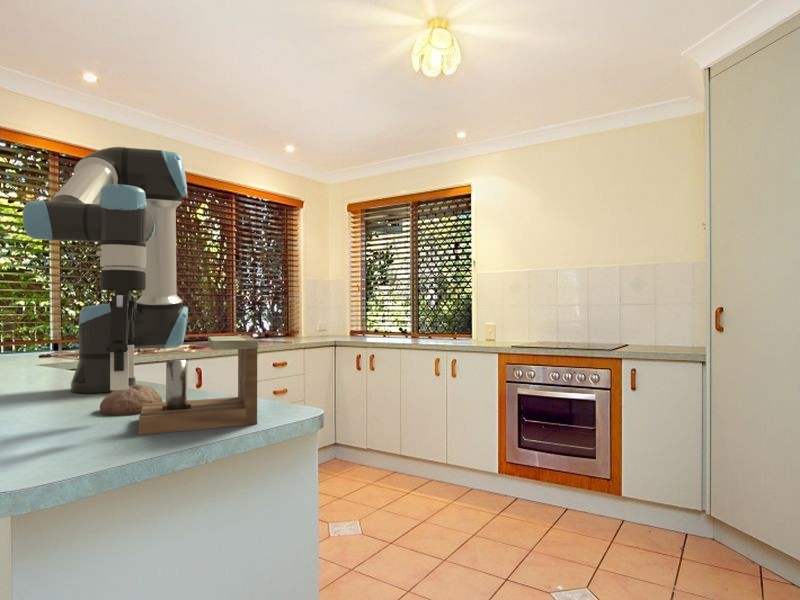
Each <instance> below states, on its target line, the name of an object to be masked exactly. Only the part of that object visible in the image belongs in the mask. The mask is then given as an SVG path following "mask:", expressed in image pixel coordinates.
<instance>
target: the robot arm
mask: <svg viewBox="0 0 800 600" xmlns="http://www.w3.org/2000/svg"><path fill="white" fill-rule="evenodd" d="M182 197H183V198H184V197H188V184H187V177H186V171H185V166H184V161H183V158H182V155H180V154H179V153H177V152H173V151H168V150H163V149H159V150H158V149H146V148H135V147H134V148H133V147H125V146H112V147H106V148H102V149H99V150H96V151H93V152H91V153H89V154H87V155H86V156H84V157H82V158H81V159H79V161H78V162H77V163H76V164H75V166H74V168H73V175H72V176H70V178H69V179H68V180H67V182H66V183H64V184H63V185H62V186H61V188H60V189H59V190H58V191H57V193H56V194H54V196H52V198H51V199H50V200H49V201H48V200H45V199H40V200H29V201H27V202H26V203H25V205H24V206H23V210H22V224H23V229H24V232H25V234H26V235H27V236H28V237H29V238H31V239H33V240H41V241H43V240H45V241H49V242H53V241H59V242H60V241H61V242H64V241H65V242H93V243H94V242H97V243H99V245H100V246H99V247H100V249H101V250H97V251H96V253H95V255H96V256H97V257H100V258H99V263H100V267H101V268H103V269H102V270H101V271H99V288H100V290H101V291H114V295H111V298H110V302H109V303H102V304H94V305H93V304H92V305H88V306H84V307H83V308H81V310H80V311H79V318H78V319H79V320H78V325H77V326H78V364H77V365H76V369H75V371H74V374H73V377H72V379H71V382H70V392H72V393H76V394H99V393H100V394H101V393H111V392H113V391H114V390H125V389H128V386H132V385H137V384H136V377H135V350H145V349H147V350H148V349H150V350H151V349H152V350H154V349H157V350H158V349H163V350H167V349H175V348H176V349H177V348H180V347H181V346H182V345H183V344H184V340H185V337H186V331H187V325H188V317H189V307H187V306H183V299H181V297H180V296H178V294H177V225H176V224H177V223H176V220H177V218H176V217H177V216H176V214H177V213H176V211H177V208H178V207H179V206H180V205H181V204H182V202H183V201H182V199H183V198H182ZM137 291H138V292H139V291H140V292H142V294H141V296H140V297H139V298H138V299H136V300H134V299H135V298H134V295H133V294H132V292H137Z"/></svg>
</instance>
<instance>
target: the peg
mask: <svg viewBox="0 0 800 600" xmlns="http://www.w3.org/2000/svg"><path fill="white" fill-rule="evenodd" d="M165 362H166V363H165V365H166V366H165V367H166V368H165V371H166V373H165V385H166V386H165V402H166V411H169V410H182V409H187V399H188V398H187V396H188V395H187V394H188V392H187V391H188V390H187V389H188V387H187V386H188V385H187V382H188V380H187V379H188V378H187V377H188V376H187V375H188V374H187V373H188V371H187V370H188V367H187V366H188V360H187V359H168V360H166V361H165Z"/></svg>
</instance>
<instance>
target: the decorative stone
mask: <svg viewBox="0 0 800 600" xmlns="http://www.w3.org/2000/svg"><path fill="white" fill-rule="evenodd" d="M159 402H163V399H162V396H161V395H160V394H159V393H158V392H157V391H156V390H155V389H152V388H150V387H148V386H147V385H142V384H136V385H132V386H128V389H125V390H114V391H113V392H109V393H108V394H107V395H106V396H105V397H104V398H103V399H102V401H101V402H100V405H99V411H100V413H101V414H102V415H106V416H107V415H109V416H135V415H140V413H141V410H142V407H143V404H144V403H159Z"/></svg>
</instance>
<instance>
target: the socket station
mask: <svg viewBox="0 0 800 600" xmlns="http://www.w3.org/2000/svg"><path fill="white" fill-rule="evenodd" d="M207 345H208V346H209V347H210V349H212V350H213V351H227V350H237V378H238V379H237V396H233V397H232V396H231V397H230V396H229V397H217V398H207V399H206V398H205V399H204V398H202V399H192V400H191V399H190V400H187V409H182V410H169V411H166V401H162V402H159V403H144V404H143V407H142V410H141V413H140V414H139V417H138V435H139V436H140V435H153V434H163V433H174V432H175V433H176V432H185V431H186V432H187V431H196V430H205V429H218V428H227V427H228V428H230V427H238V426H249V425H250V426H251V425H257V424H258V349H259V340H258V339H256V338H254V337H251V336H250V335H227V336H226V335H219V336H217V335H215V336H213V335H212V336H211V335H210V336H207Z"/></svg>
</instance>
